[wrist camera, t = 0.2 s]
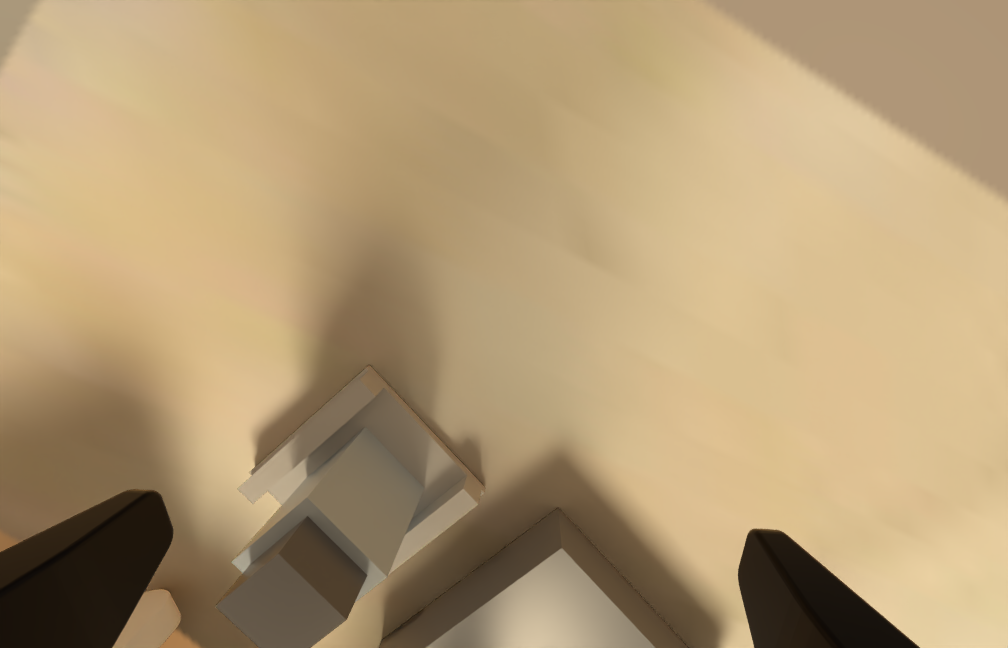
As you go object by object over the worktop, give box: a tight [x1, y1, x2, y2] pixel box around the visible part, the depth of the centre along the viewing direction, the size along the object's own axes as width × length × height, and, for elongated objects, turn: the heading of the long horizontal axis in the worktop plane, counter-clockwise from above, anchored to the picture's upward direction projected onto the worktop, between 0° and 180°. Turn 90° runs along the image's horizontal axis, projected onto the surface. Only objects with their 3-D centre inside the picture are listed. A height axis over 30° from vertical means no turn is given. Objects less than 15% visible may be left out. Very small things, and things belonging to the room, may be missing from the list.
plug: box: [215, 427, 424, 648], centre depth 20 cm, size 4×4×8 cm
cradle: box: [237, 365, 485, 575], centre depth 23 cm, size 8×8×2 cm
